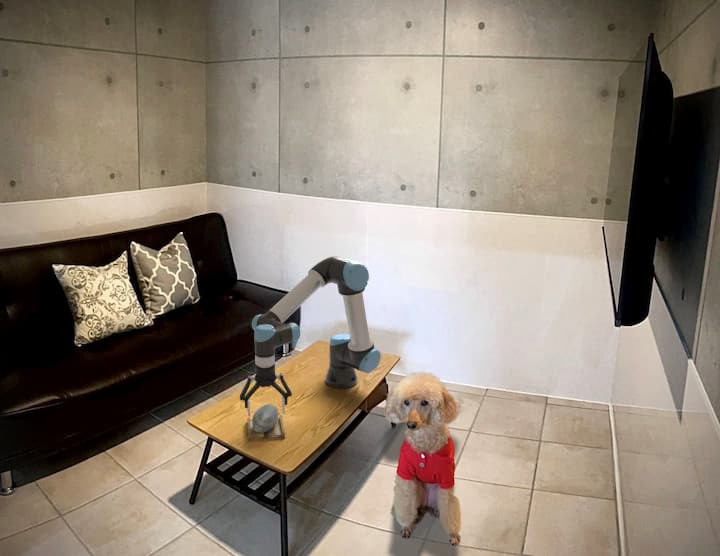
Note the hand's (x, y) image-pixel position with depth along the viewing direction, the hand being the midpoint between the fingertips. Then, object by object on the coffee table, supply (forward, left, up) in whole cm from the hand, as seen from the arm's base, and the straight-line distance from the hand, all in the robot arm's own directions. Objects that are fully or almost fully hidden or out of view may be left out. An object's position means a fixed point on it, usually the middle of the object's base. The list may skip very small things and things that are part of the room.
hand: (266, 413), depth 243 cm
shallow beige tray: (0, 0, -7) cm, 7 cm away
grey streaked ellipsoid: (0, 0, -6) cm, 6 cm away
